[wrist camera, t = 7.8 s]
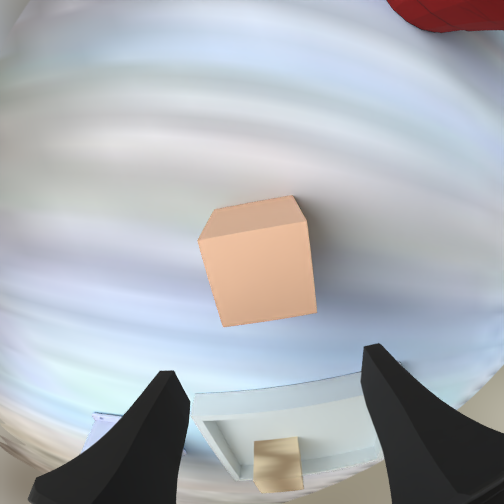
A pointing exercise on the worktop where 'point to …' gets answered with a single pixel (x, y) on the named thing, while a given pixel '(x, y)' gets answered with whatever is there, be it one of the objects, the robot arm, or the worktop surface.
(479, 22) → the plastic cup
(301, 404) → the grey tray
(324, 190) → the worktop surface
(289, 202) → the terracotta block
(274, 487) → the oak block
